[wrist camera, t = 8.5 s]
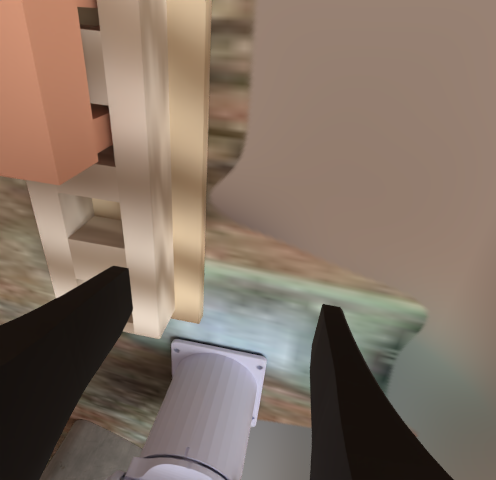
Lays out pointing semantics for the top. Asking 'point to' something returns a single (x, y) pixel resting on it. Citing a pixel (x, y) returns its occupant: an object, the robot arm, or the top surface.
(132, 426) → the top surface
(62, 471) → the hip flask
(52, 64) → the clip
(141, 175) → the cream wooden flat frame
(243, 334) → the top surface
